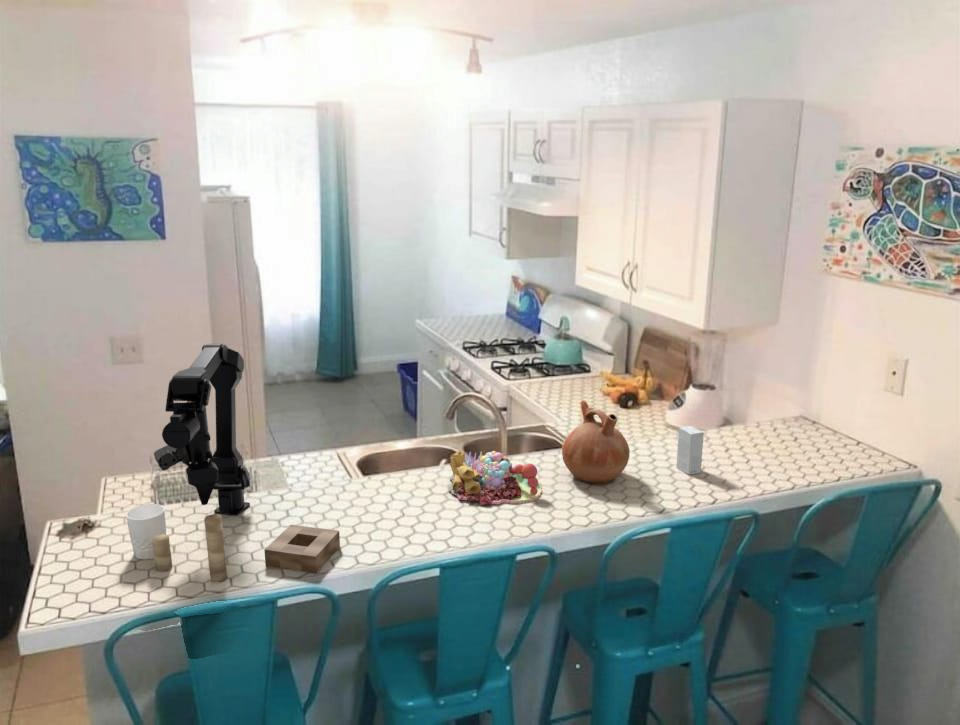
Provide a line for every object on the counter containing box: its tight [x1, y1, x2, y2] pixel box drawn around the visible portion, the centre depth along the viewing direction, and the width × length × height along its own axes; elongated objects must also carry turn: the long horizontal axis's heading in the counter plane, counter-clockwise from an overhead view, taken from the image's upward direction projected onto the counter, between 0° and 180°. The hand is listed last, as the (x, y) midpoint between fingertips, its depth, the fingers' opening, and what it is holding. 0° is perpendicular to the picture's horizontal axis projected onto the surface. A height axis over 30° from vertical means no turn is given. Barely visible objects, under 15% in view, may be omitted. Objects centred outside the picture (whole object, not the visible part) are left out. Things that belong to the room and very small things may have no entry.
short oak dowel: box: [152, 534, 173, 573], centre depth 172 cm, size 3×3×7 cm
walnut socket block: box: [264, 524, 341, 574], centre depth 177 cm, size 12×12×4 cm
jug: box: [561, 399, 631, 486], centre depth 217 cm, size 18×18×20 cm
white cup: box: [125, 503, 167, 560], centre depth 178 cm, size 8×8×10 cm
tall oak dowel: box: [204, 513, 228, 584], centre depth 166 cm, size 3×3×14 cm
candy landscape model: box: [447, 450, 543, 506], centre depth 212 cm, size 25×24×9 cm
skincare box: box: [675, 425, 705, 475], centre depth 222 cm, size 6×4×12 cm
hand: (201, 495), depth 177 cm, fingers open, 9 cm apart
